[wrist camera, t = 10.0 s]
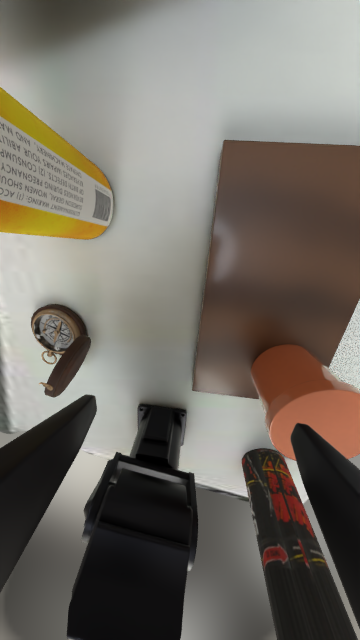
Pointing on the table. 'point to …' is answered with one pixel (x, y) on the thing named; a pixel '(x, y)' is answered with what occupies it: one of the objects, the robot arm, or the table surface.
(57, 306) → the compass
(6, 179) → the beer can
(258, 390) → the terracotta pot
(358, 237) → the walnut board
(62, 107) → the table surface
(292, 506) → the deodorant
